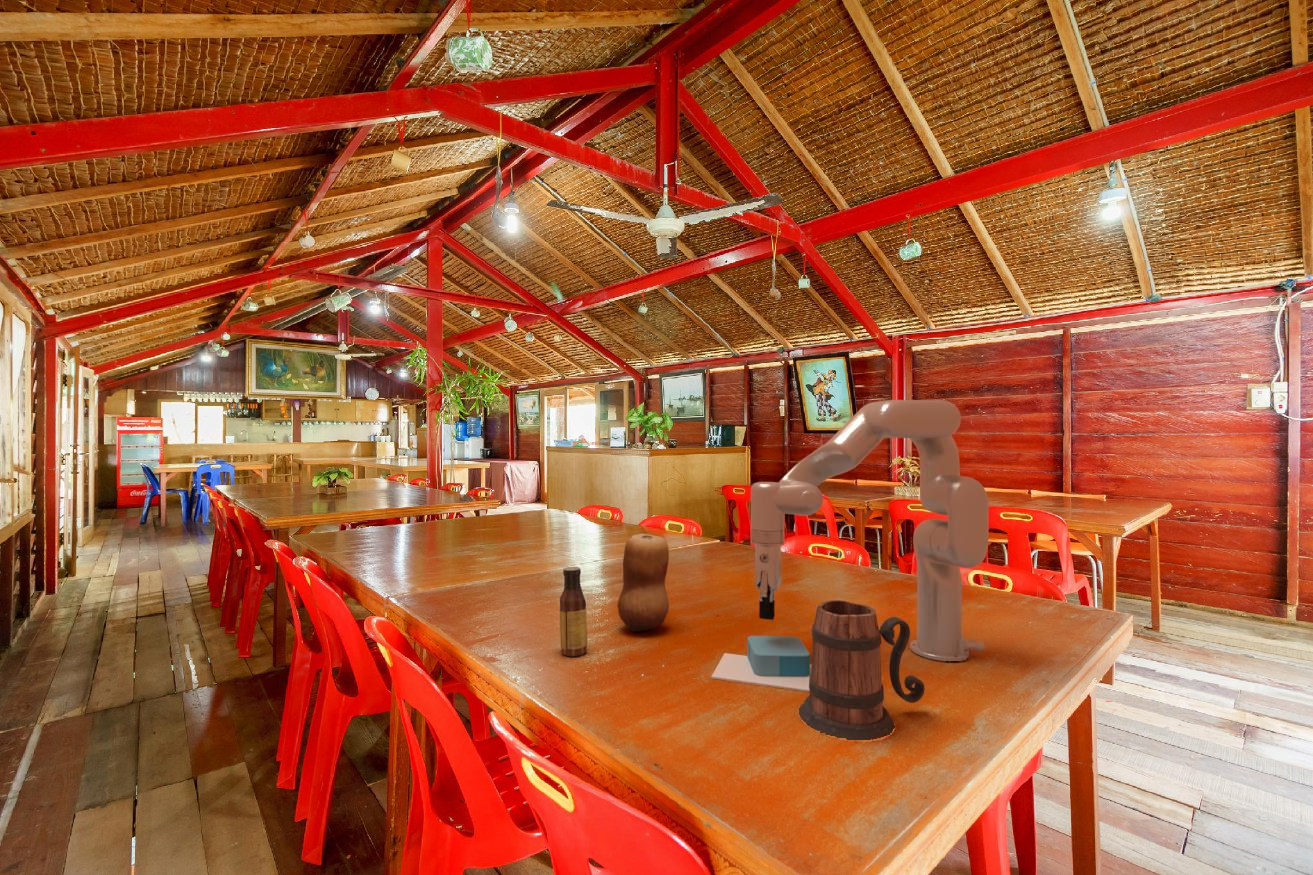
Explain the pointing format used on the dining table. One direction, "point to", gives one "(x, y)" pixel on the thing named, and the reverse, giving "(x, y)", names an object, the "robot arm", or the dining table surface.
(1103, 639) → the dining table surface
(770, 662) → the data package
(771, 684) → the mat
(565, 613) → the sauce bottle
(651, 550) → the butternut squash
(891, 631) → the tankard
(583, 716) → the dining table surface
